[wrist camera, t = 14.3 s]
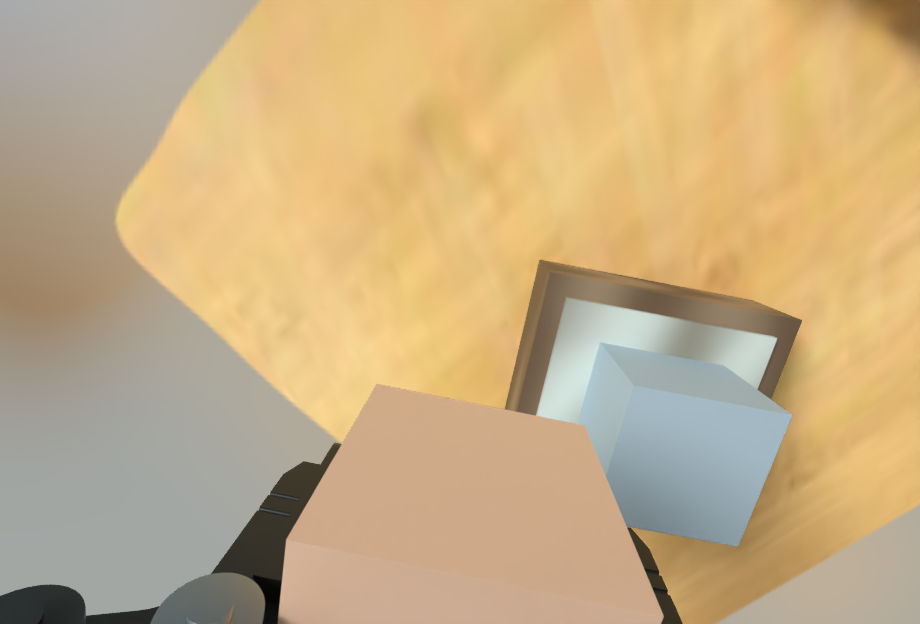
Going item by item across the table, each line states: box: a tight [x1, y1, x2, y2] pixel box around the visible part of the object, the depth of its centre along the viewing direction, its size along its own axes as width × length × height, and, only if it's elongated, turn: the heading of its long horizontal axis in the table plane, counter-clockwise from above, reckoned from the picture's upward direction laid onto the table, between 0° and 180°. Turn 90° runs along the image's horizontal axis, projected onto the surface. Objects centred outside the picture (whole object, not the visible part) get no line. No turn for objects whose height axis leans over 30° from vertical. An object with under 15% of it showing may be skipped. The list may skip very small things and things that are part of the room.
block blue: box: [577, 342, 792, 547], centre depth 20 cm, size 6×6×5 cm
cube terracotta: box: [278, 384, 664, 624], centre depth 8 cm, size 4×4×4 cm
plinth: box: [505, 260, 802, 424], centre depth 25 cm, size 12×12×4 cm
